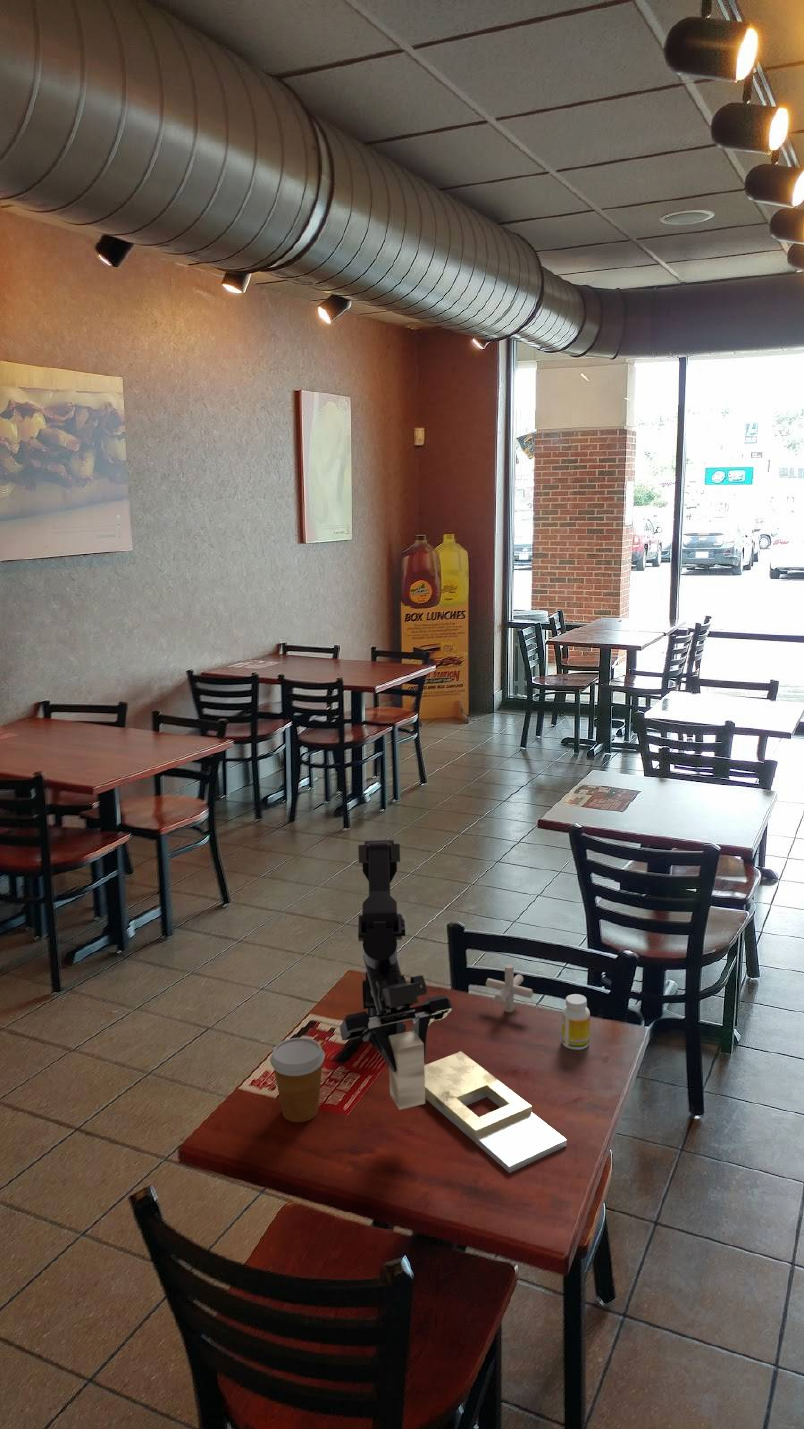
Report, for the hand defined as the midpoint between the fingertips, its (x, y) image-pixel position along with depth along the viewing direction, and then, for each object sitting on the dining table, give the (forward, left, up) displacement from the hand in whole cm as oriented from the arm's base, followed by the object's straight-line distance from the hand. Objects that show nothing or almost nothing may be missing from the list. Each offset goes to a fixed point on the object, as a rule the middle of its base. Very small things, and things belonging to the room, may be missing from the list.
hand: (409, 1068), depth 164 cm
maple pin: (-1, +1, -7) cm, 7 cm away
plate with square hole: (+7, +13, -13) cm, 20 cm away
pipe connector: (-5, +47, -14) cm, 49 cm away
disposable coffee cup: (-21, -3, -14) cm, 25 cm away
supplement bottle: (+12, +42, -14) cm, 45 cm away
